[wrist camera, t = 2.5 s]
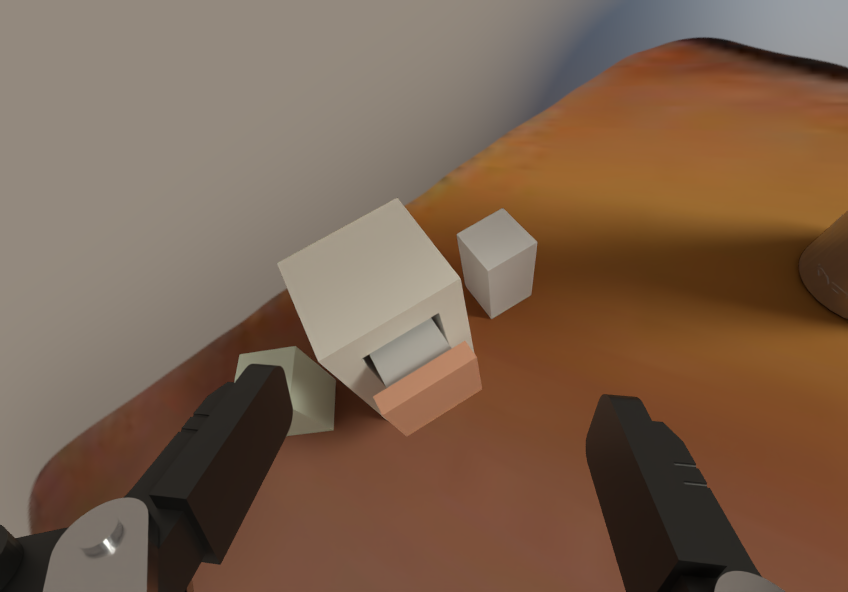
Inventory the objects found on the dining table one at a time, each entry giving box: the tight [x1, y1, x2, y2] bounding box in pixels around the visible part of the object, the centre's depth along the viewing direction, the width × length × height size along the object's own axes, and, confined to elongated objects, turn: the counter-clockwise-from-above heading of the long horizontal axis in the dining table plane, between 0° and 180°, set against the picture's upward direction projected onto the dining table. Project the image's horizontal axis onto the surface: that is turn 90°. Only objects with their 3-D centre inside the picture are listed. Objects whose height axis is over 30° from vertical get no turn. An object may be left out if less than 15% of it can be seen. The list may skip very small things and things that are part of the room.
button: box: [369, 318, 482, 436], centre depth 25 cm, size 9×6×6 cm, turn 29°
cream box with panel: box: [277, 198, 474, 420], centre depth 29 cm, size 8×9×14 cm
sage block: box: [234, 346, 336, 436], centre depth 31 cm, size 4×4×8 cm
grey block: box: [457, 208, 537, 319], centre depth 33 cm, size 4×4×8 cm
